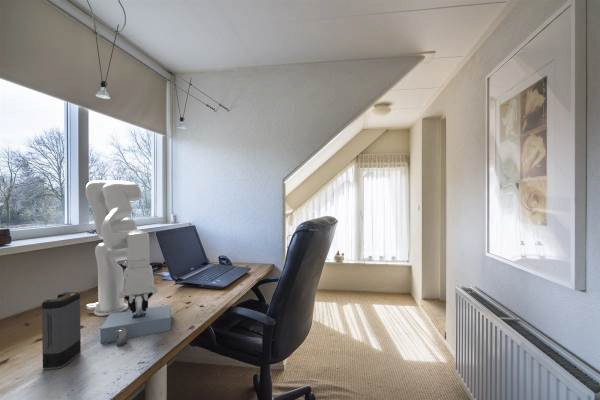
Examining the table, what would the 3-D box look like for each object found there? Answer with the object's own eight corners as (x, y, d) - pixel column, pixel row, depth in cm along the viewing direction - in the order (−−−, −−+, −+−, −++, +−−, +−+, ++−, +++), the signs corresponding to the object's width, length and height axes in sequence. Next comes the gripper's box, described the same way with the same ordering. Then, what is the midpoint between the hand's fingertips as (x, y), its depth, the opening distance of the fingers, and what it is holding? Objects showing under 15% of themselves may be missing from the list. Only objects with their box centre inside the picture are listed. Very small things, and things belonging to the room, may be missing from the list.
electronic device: (63, 353, 90) (63, 292, 90) (83, 352, 91) (82, 291, 91) (39, 370, 81) (38, 302, 81) (61, 369, 81) (60, 301, 81)
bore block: (100, 343, 96) (100, 328, 96) (109, 326, 109) (109, 313, 109) (170, 330, 105) (169, 317, 105) (171, 316, 118) (170, 304, 118)
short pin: (115, 347, 93) (115, 332, 93) (117, 343, 96) (117, 328, 96) (126, 345, 94) (126, 330, 94) (128, 341, 97) (127, 327, 97)
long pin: (134, 325, 105) (133, 291, 105) (135, 322, 108) (134, 288, 108) (143, 323, 106) (143, 289, 106) (144, 320, 109) (144, 287, 109)
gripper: (111, 268, 100) (111, 318, 100) (161, 263, 107) (162, 310, 107) (115, 264, 107) (116, 311, 107) (162, 259, 114) (163, 304, 114)
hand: (139, 310), depth 107 cm, fingers closed on long pin, 3 cm apart
